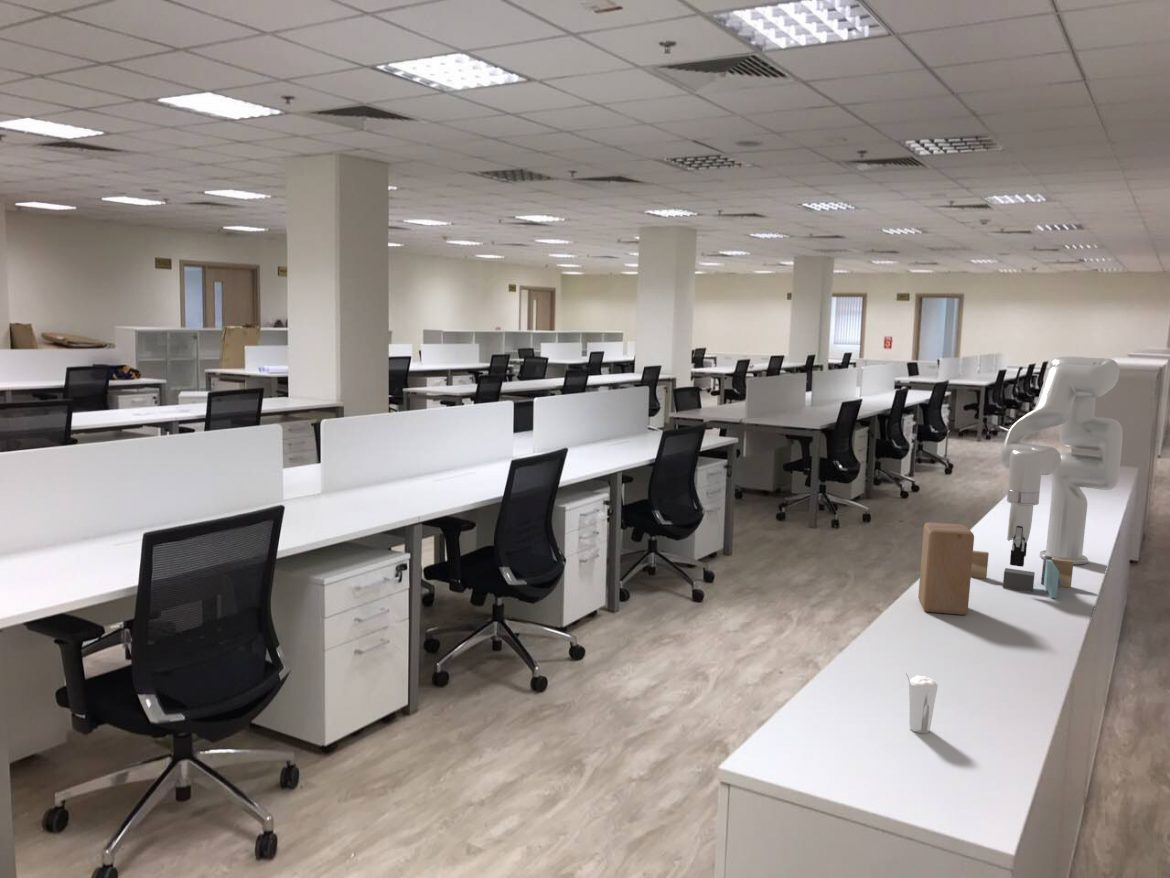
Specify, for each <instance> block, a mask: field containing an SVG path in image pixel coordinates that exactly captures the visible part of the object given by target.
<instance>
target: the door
mask: <svg viewBox="0 0 1170 878" xmlns="http://www.w3.org/2000/svg"><path fill="white" fill-rule="evenodd" d="M1058 584H1060V585H1063V584H1064V579H1059V571H1058V569H1057V568H1056V566H1055V565H1054V563H1053V562H1052V560H1047V559H1046V567H1045V577H1044V585H1043V586H1044V588H1045V589H1046V591H1047V593H1048V594H1049V596H1050V597H1051V598H1053V599H1054V598H1055V599H1057V598H1058V589H1059V586H1058Z"/></svg>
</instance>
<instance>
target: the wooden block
mask: <svg viewBox="0 0 1170 878" xmlns="http://www.w3.org/2000/svg"><path fill="white" fill-rule="evenodd" d="M974 543H975V535H974V532H972V530H970V528H969V527H968V526H967V525H965V524H956V523H944V522H943V523H942V522H929V521H928V522H925V524H923V533H922V545H921V546H922V547H921V557H920V572H919V583H918V584H919V585H918V601H919V603H920V604H921V607H922V609H923V611H924V612H927V613H937V614H949V615H960V616H963V615H967V613H968V611H969V602H970V600H969V599H970V589H971V578H972V577H971V568H972V557H973V551H974V546H975V544H974Z"/></svg>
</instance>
